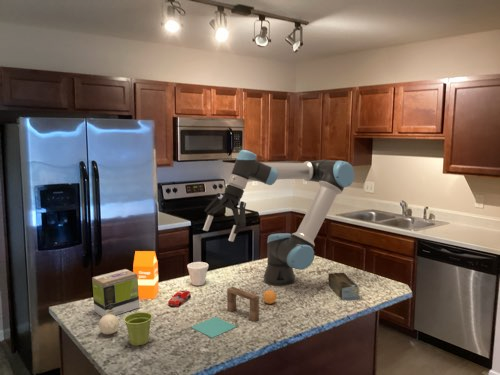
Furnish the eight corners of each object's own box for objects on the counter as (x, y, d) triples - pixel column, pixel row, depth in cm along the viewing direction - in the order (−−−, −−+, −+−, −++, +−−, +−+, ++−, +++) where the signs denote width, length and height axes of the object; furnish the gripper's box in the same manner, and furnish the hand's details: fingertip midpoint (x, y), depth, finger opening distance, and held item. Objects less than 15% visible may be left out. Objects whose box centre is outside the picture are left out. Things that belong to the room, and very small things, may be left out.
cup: (183, 286, 198) (183, 266, 197) (193, 279, 207) (193, 261, 206) (203, 288, 195) (202, 269, 193) (212, 281, 204) (212, 263, 203)
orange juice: (139, 292, 191) (137, 248, 188) (158, 292, 190) (157, 248, 188) (134, 298, 183) (132, 253, 180) (154, 298, 183) (152, 253, 180)
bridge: (232, 308, 172) (232, 286, 171) (258, 319, 162) (258, 295, 161) (227, 310, 170) (227, 288, 169) (253, 321, 160) (253, 298, 159)
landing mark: (215, 317, 164) (215, 316, 164) (236, 326, 156) (236, 326, 156) (190, 327, 155) (190, 326, 155) (212, 338, 147) (212, 337, 147)
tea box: (127, 301, 180) (126, 267, 178) (139, 308, 173) (138, 273, 171) (93, 312, 169) (91, 276, 168) (104, 319, 162) (103, 282, 160)
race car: (177, 309, 173) (177, 299, 172) (165, 307, 175) (165, 297, 174) (193, 297, 185) (192, 288, 184) (182, 295, 187) (182, 287, 186)
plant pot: (118, 345, 142) (117, 321, 141) (136, 333, 151) (135, 310, 150) (142, 350, 139) (141, 325, 137) (158, 338, 147) (157, 314, 146)
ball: (269, 299, 181) (269, 287, 181) (279, 303, 178) (279, 290, 177) (260, 303, 177) (260, 290, 177) (270, 306, 174) (270, 294, 173)
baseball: (103, 340, 146) (102, 321, 145) (96, 332, 152) (96, 314, 151) (122, 334, 150) (121, 316, 149) (115, 327, 156) (114, 309, 155)
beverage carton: (341, 301, 180) (341, 286, 179) (327, 285, 199) (327, 272, 198) (359, 300, 181) (359, 285, 180) (343, 284, 200) (344, 271, 199)
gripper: (208, 177, 177) (190, 224, 176) (256, 192, 164) (236, 244, 162) (218, 181, 184) (200, 227, 182) (265, 196, 170) (246, 246, 169)
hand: (217, 235), depth 172 cm, fingers open, 13 cm apart
